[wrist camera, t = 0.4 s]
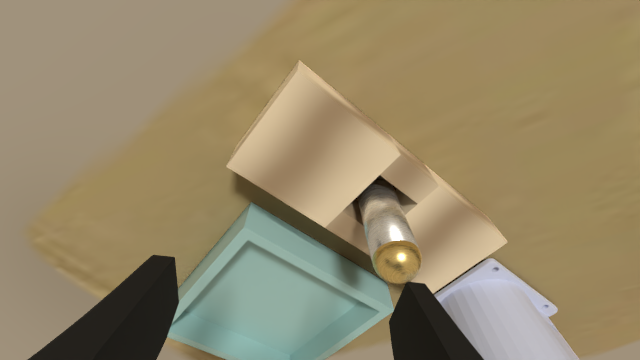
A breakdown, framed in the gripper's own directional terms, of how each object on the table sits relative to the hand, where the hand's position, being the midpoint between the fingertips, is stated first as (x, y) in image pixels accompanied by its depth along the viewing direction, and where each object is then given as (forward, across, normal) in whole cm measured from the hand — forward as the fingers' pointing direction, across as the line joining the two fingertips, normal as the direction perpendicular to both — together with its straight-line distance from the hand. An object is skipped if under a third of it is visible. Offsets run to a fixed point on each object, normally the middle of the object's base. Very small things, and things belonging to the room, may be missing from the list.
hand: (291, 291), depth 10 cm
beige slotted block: (+10, -5, +1) cm, 11 cm away
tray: (+10, 0, +12) cm, 16 cm away
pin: (+10, -5, +1) cm, 11 cm away
